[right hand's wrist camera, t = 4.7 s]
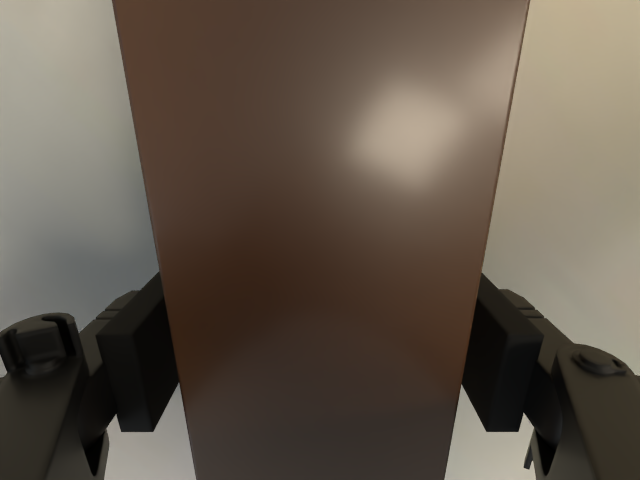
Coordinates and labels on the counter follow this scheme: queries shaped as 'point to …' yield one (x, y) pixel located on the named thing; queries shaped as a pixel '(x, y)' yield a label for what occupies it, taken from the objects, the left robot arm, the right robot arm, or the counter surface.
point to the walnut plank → (320, 219)
